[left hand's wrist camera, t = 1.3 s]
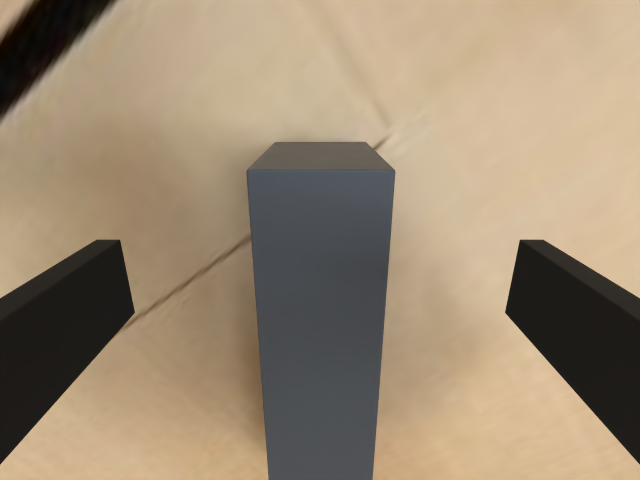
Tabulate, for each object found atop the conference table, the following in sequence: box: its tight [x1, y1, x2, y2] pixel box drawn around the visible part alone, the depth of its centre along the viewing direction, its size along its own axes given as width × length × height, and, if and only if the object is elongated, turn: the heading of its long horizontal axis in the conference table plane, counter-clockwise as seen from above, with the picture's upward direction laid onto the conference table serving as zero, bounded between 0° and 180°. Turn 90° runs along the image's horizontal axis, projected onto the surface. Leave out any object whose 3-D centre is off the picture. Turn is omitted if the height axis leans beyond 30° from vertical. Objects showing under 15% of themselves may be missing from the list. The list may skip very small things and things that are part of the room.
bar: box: [247, 142, 395, 480], centre depth 20 cm, size 22×5×8 cm, turn 0°
